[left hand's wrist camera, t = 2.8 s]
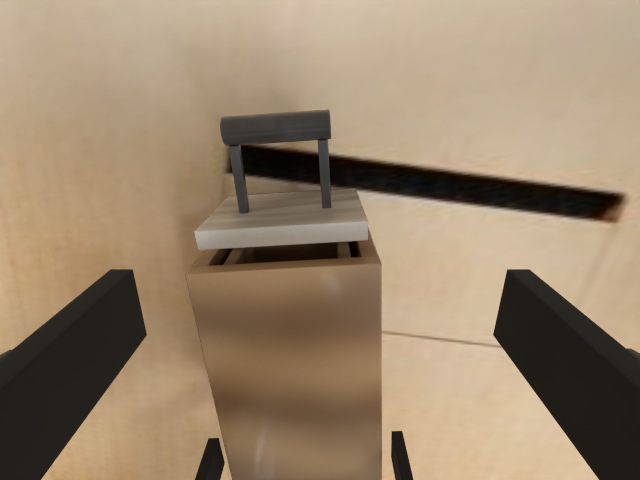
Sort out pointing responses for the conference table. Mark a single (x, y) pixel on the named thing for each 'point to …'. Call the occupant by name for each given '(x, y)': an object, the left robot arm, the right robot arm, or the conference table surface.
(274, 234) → the drawer
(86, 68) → the conference table surface
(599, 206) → the conference table surface
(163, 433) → the conference table surface
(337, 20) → the conference table surface
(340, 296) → the cabinet
